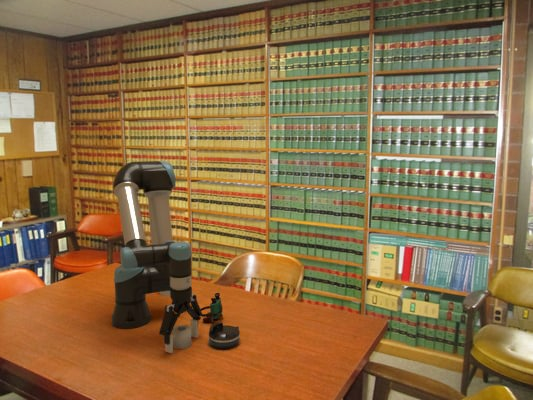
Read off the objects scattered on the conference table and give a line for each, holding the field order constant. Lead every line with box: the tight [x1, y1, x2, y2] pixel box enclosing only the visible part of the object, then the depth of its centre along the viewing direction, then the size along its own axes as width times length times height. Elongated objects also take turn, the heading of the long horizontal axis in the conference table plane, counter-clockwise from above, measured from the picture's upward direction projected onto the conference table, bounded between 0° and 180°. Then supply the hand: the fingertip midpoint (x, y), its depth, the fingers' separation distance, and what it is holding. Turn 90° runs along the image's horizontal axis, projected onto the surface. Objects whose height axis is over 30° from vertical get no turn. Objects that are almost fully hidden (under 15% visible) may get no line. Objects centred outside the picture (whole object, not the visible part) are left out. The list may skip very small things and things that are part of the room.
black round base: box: [208, 321, 241, 351], centre depth 153 cm, size 11×11×6 cm
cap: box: [172, 324, 192, 350], centre depth 151 cm, size 6×6×6 cm
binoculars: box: [200, 292, 224, 324], centre depth 172 cm, size 9×11×10 cm
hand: (182, 344), depth 151 cm, fingers open, 13 cm apart
